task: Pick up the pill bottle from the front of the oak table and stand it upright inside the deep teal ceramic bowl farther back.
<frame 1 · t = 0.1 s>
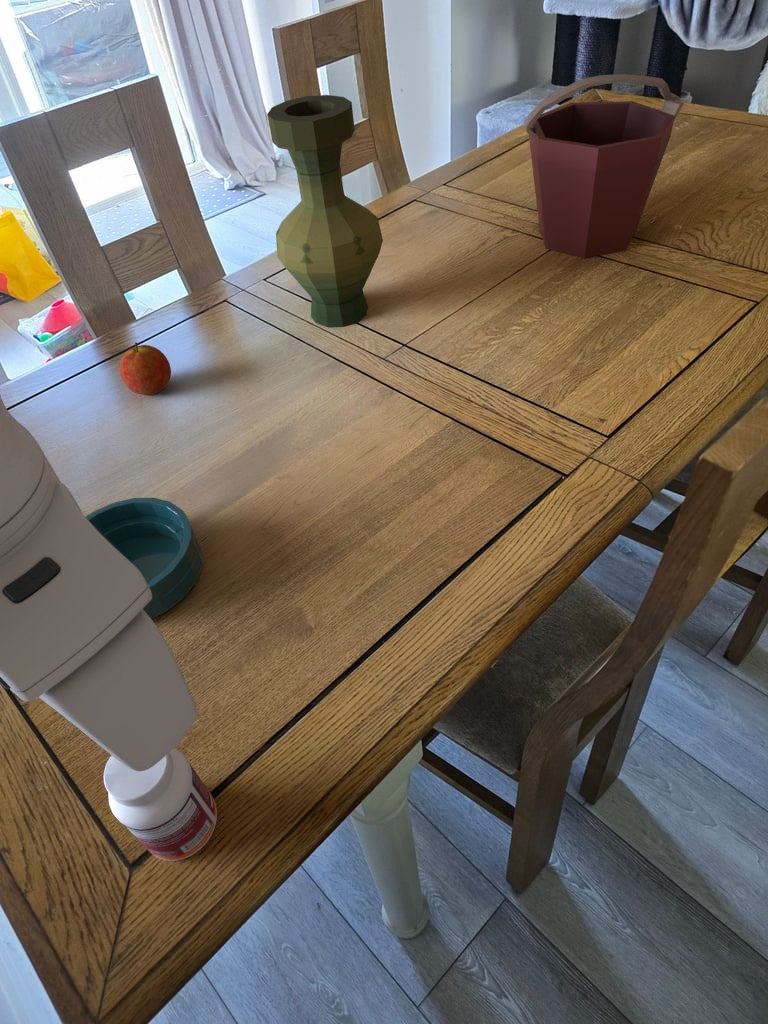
hand: (92, 695, 41), 22 cm above the table, tool pointing down, fingers open, 8 cm apart
vase: (339, 313, 114), on the table
pill bottle: (182, 824, 58), on the table
bucket: (587, 238, 124), on the table
fruit: (154, 391, 102), on the table
bowl: (138, 575, 77), on the table
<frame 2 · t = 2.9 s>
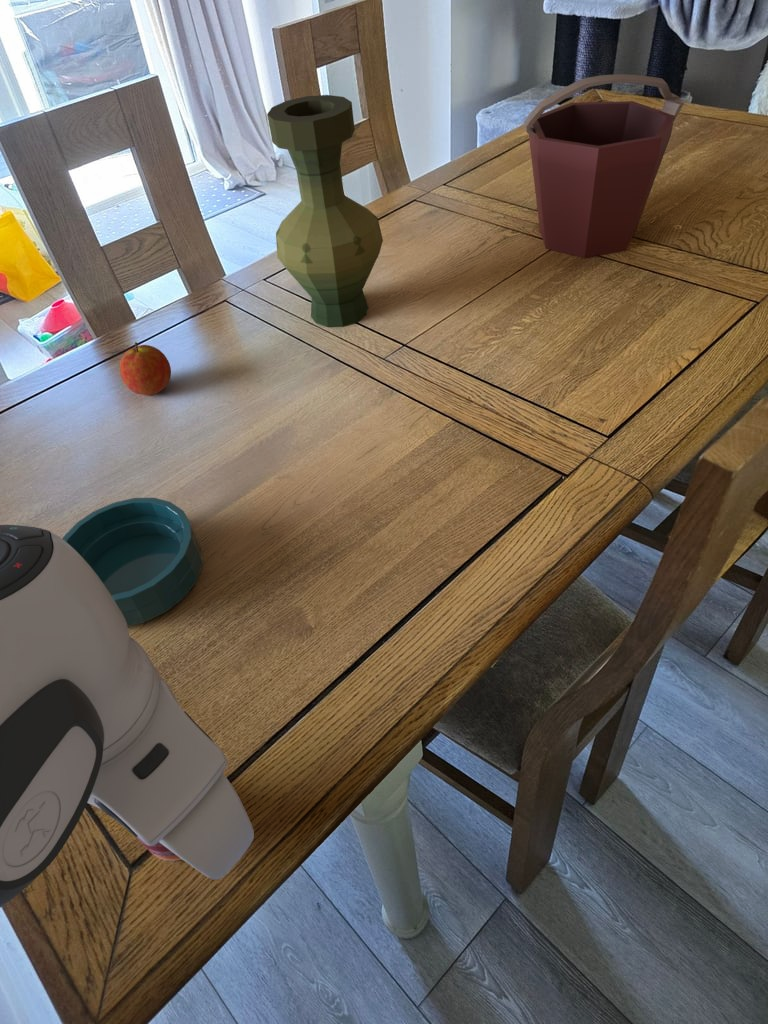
hand: (167, 803, 54), 4 cm above the table, tool pointing down, fingers closed on pill bottle, 6 cm apart
pill bottle: (182, 824, 58), on the table, touching gripper
everything else where it was.
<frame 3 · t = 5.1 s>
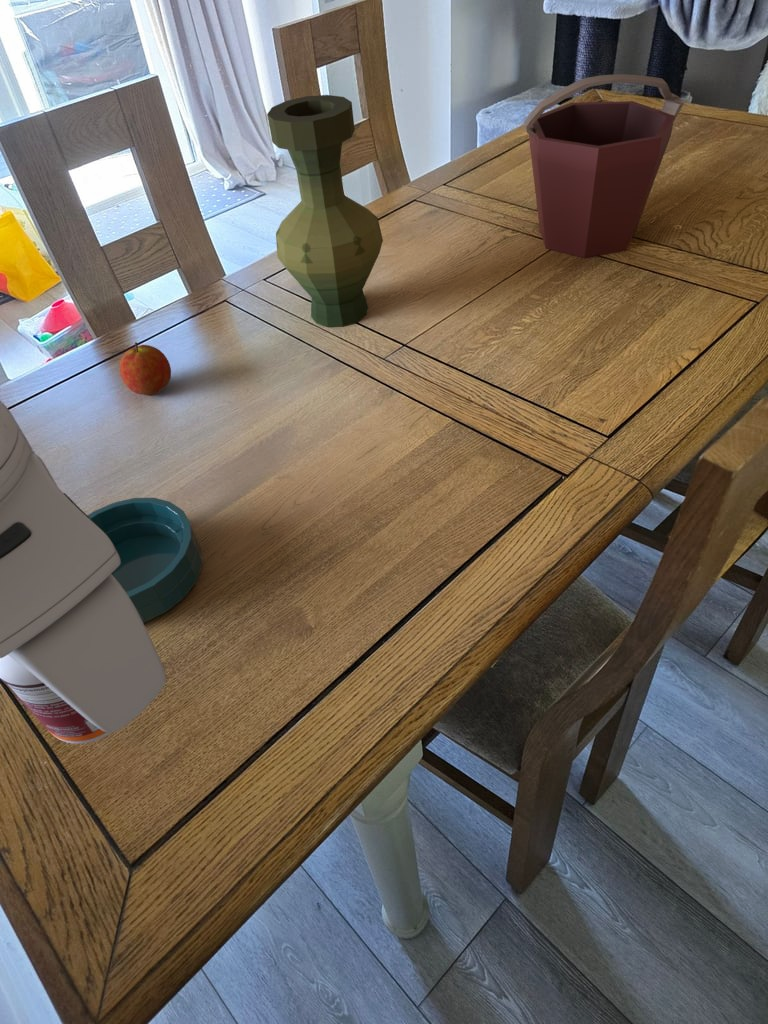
hand: (70, 668, 42), 22 cm above the table, tool pointing down, fingers closed on pill bottle, 6 cm apart
pill bottle: (97, 704, 45), point 18 cm above the table, touching gripper
everything else where it was.
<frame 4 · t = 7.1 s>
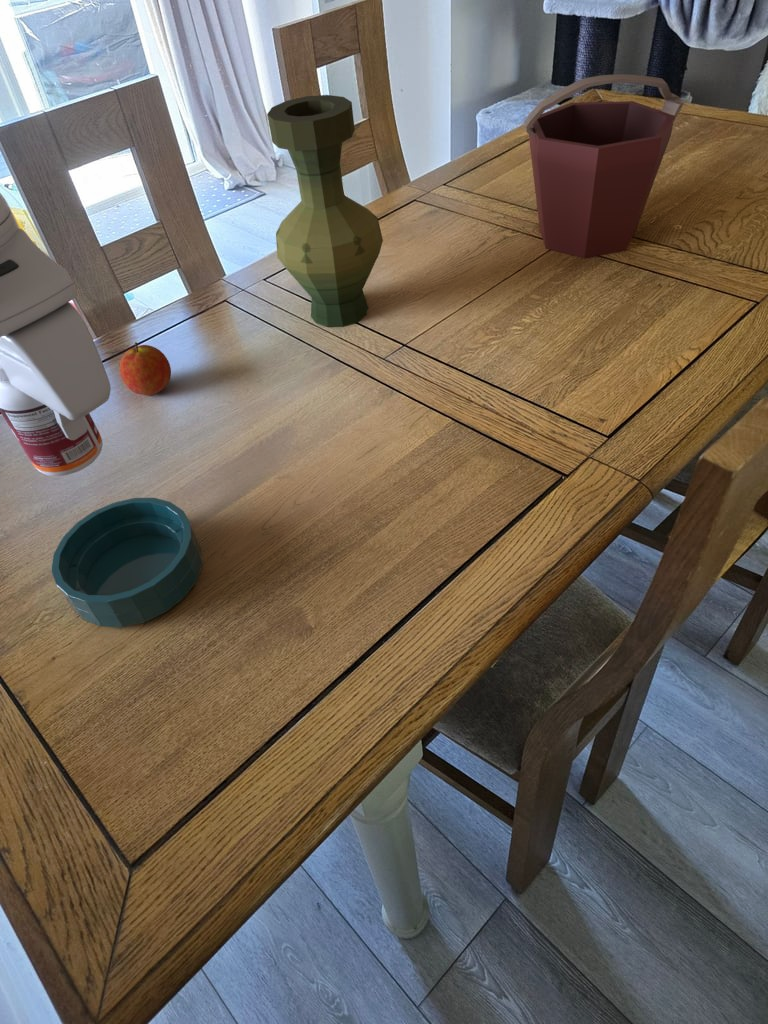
hand: (50, 419, 59), 23 cm above the table, tool pointing down, fingers closed on pill bottle, 6 cm apart
pill bottle: (71, 457, 63), point 19 cm above the table, touching gripper
everything else where it was.
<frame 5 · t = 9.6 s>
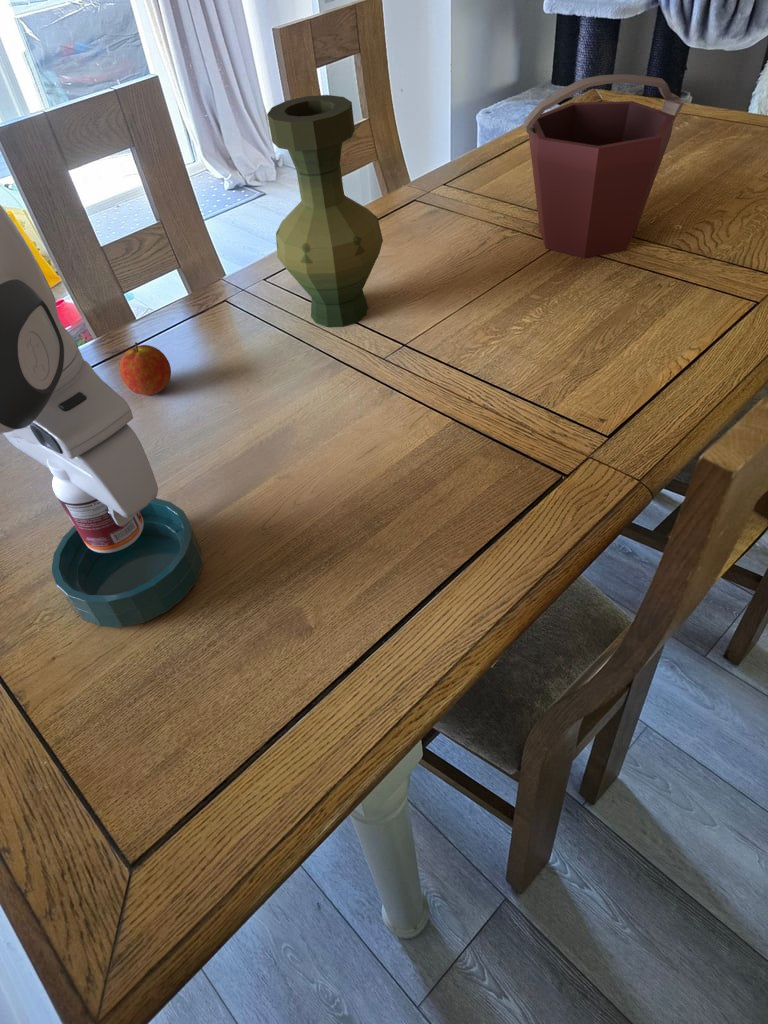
hand: (100, 505, 69), 11 cm above the table, tool pointing down, fingers closed on pill bottle, 6 cm apart
pill bottle: (116, 534, 72), point 7 cm above the table, touching gripper
everything else where it was.
when the fingers open (5 cm above the table, at t = 11.7 s): pill bottle stays where it is, resting on bowl.
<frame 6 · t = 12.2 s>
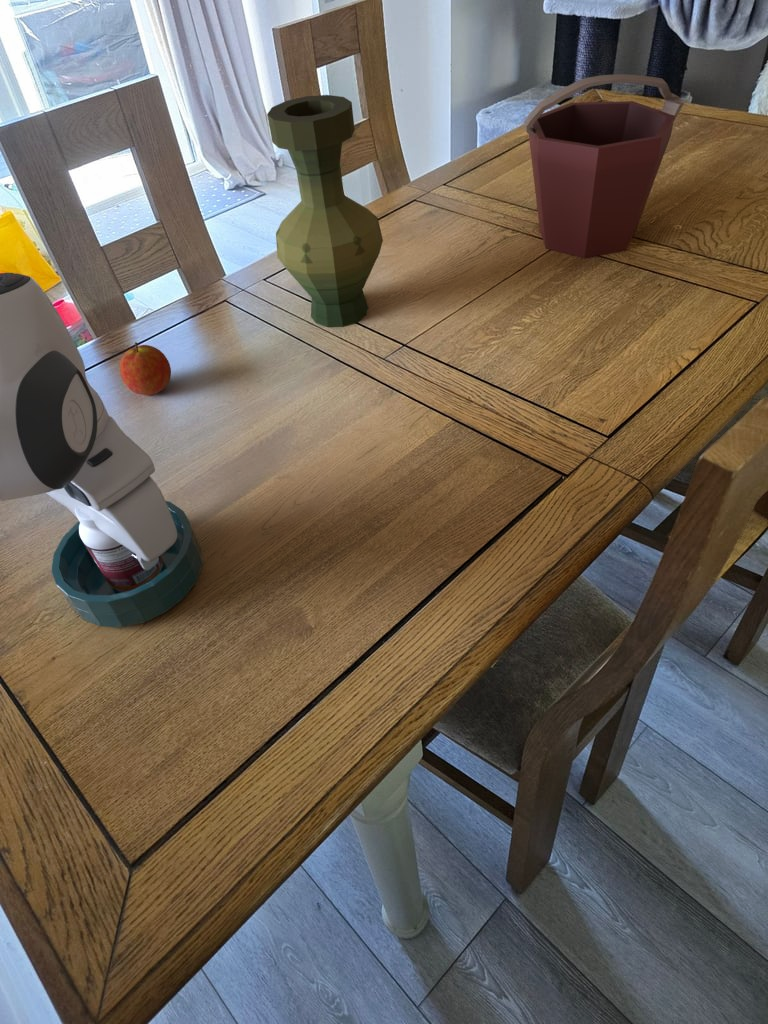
hand: (121, 544, 73), 5 cm above the table, tool pointing down, fingers open, 8 cm apart
pill bottle: (137, 573, 77), resting on bowl
everything else where it was.
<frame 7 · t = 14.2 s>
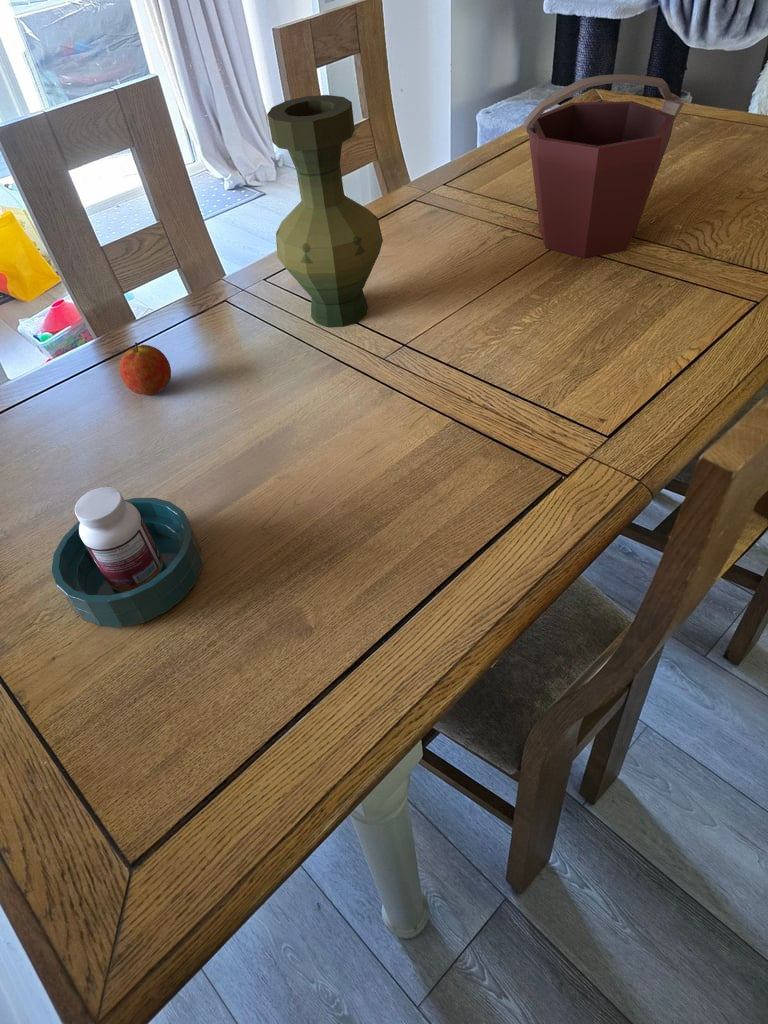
nothing on the table moved.
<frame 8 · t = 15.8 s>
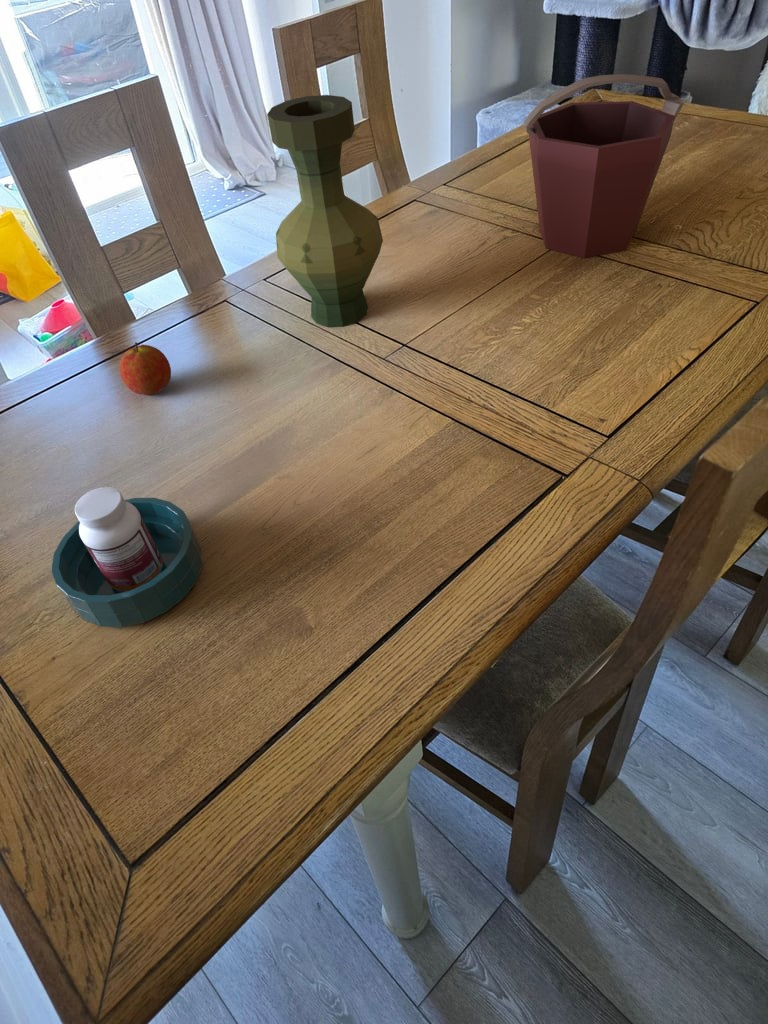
nothing on the table moved.
at the end: pill bottle inside the target area in the bowl (0.1 cm from its centre), point 0.4 cm above the bowl's base; pill bottle tilted 0° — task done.
